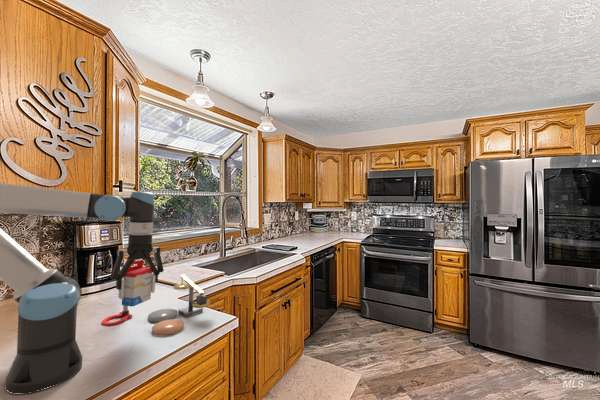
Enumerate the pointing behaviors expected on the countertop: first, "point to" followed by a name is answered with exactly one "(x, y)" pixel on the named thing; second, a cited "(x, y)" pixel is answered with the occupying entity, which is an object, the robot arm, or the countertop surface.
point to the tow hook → (124, 313)
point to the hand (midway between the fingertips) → (137, 294)
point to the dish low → (168, 327)
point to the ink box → (137, 284)
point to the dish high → (162, 315)
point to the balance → (200, 299)
